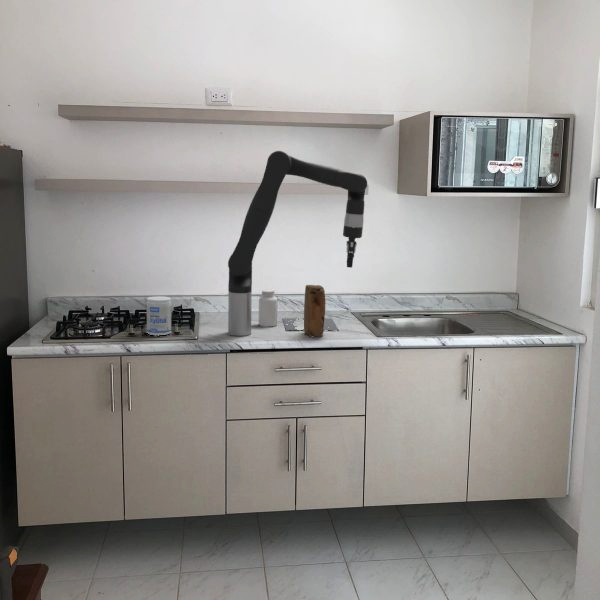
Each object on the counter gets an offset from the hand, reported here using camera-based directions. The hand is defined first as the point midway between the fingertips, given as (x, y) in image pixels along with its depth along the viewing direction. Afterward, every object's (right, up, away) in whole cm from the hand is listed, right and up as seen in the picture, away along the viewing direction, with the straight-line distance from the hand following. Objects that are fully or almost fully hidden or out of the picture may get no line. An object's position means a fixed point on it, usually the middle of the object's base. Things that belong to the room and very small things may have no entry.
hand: (349, 265), depth 297 cm
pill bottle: (-33, -25, +20) cm, 46 cm away
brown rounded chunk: (-14, -28, +4) cm, 32 cm away
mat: (-15, -24, +22) cm, 36 cm away
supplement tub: (-76, -28, 0) cm, 81 cm away
